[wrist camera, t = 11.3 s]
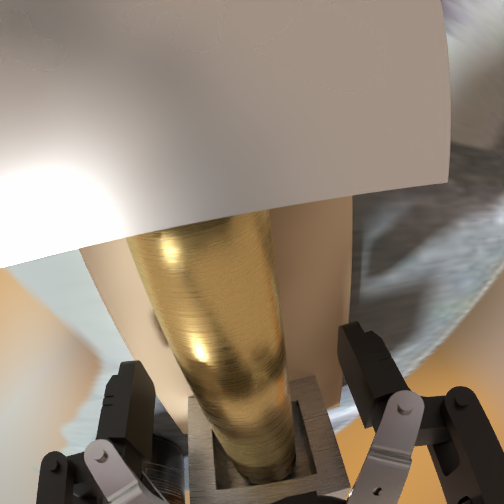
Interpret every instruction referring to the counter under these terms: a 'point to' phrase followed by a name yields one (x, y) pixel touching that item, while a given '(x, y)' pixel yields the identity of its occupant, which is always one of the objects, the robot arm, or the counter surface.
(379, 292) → the counter surface
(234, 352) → the tube
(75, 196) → the sleeve socket
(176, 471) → the supplement bottle
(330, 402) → the base board
